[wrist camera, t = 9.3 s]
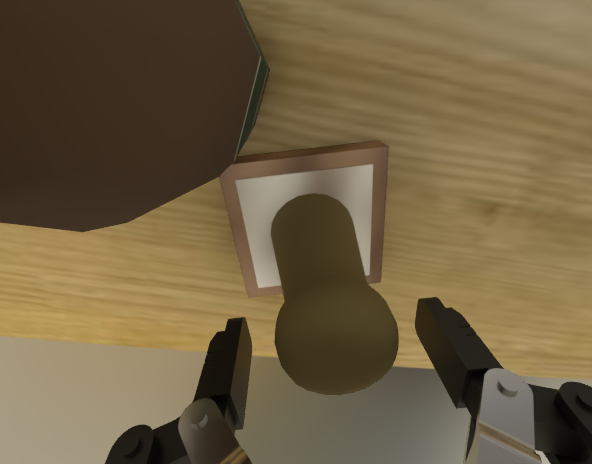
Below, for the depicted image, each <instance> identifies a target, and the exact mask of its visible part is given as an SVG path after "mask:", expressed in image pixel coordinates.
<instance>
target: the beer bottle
mask: <svg viewBox="0 0 592 464" xmlns="http://www.w3.org/2000/svg"><path fill="white" fill-rule="evenodd" d="M269 71H270V69H269V67H268V64H267V62H266V60H265V58H264V56H263V53H262V51H261V49H260V47H259V44H258V42H257V40H256V38H255V35H254V33H253V31H252V29H251V26H250V24H249V22H248V20H247V18H246V15H245V13H244V11H243V9H242V6H241V4H240V2H239V0H0V223H9V224H18V225H27V226H35V227H44V228H53V229H62V230H70V231H79V232H85V231H90V230H95V229H99V228H104V227H109V226H113V225H118V224H123V223H128V222H130V221H131V220H133V219H135V218H137V217H139V216H141V215H143V214H145V213H147V212H149V211H151V210H153V209H155V208H157V207H159V206H161V205H163V204H165V203H167V202H169V201H171V200H173V199H175V198H177V197H179V196H181V195H183V194H185V193H187V192H189V191H191V190H193V189H195V188H197V187H199V186H201V185H203V184H205V183H207V182H209V181H211V180H213V179H215V178H217V177H219V176H220V175H221V174H222V173H223V172H224V171H225V170H226V169H227V168H228V167H229V166H230V165H231V164H232V163H233V162H234V161H235V159H236V157H237V155H238V154H239V152H240V150H241V148H242V147H243V145H244V143H245V141H246V139H247V138H248V136H249V134H250V132H251V131H252V129H253V127H254V125H255V122H256V119H257V115H258V111H259V108H260V104H261V100H262V97H263V93H264V89H265V86H266V82H267V78H268V75H269Z"/></svg>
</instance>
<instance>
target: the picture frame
mask: <svg viewBox="0 0 592 464" xmlns="http://www.w3.org/2000/svg"><path fill="white" fill-rule="evenodd" d="M388 149H389V146H387V145H385V144H384V143H382V142H380V141H371V142H362V143H353V144H345V145H336V146H327V147H319V148H310V149H301V150H293V151H284V152H275V153H267V154H258V155H249V156H241V157H236V159H235V161H234V162H233V163H232V164H231V165H230V166H229V167H228V168H227V169H226V170H225V171H224V172H223V173H222V174H221V175H220V176H219V178H220V182H221V186H222V190H223V194H224V198H225V203H226V207H227V211H228V215H229V219H230V223H231V228H232V232H233V236H234V240H235V244H236V248H237V252H238V257H239V261H240V265H241V269H242V273H243V277H244V281H245V286H246V290H247V294H248V298H250V297H258V296H267V295H276V294H283V290H282V285H281V281H280V276H279V271H278V267H277V262H276V257H275V253H274V248H273V244H272V239H271V225H272V221H273V219H274V217H275V215H276V213H277V211H278V210H279V209H280V208H281V207H282V206H283V205H284V204H285V203H286V202H288V201H290V200H292V199H294V198H296V197H298V196H300V195H306V194H311V193H315V194H324V195H328V196H330V197H332V198H335V199H337V200H339V201H340V202H341V203H342V204H343V205H344V206H345V207H346V208H347V209H348V211H349V213H350V215H351V217H352V220H353V224H354V228H355V233H356V237H357V241H358V246H359V250H360V254H361V259H362V263H363V267H364V272H365V276H366V280H367V284H371V283H379V282H381V269H382V252H383V235H384V218H385V201H386V183H387V166H388Z"/></svg>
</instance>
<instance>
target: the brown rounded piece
mask: <svg viewBox="0 0 592 464" xmlns="http://www.w3.org/2000/svg"><path fill="white" fill-rule="evenodd" d="M271 239H272V244H273V248H274V253H275V257H276V262H277V267H278V271H279V276H280V281H281V285H282V290H283V294H284V299H285V302H284V304H283V306H282V307H281V309H280V312H279V314H278V317H277V322H276V329H275V346H276V350H277V353H278V357H279V360H280V363H281V366H282V368H283V369H284V370H285V372H286V373H287V374H288V375H289V377H290V378H291V379H292V380H293V381H294V382H295V383H296V384H297V385H299V386H301V387H303V388H304V389H306V390H308V391H312V392H316V393H320V394H326V395H342V394H348V393H354V392H356V391H359V390H362V389H365V388H367V387H369V386H370V385H372V384H373V383H375V382H377V381H378V380H380V379H381V378H382V377H383V376H384V375H385V374H386V373H387V372H388V371H389V370H390V369H391V367H392V365H393V363H394V361H395V359H396V355H397V351H398V328H397V323H396V321H395V319H394V317H393V315H392V313H391V311H390V309H389V307H388V305H387V303H386V301H385V300H384V299H383V298H382V297H381V295H380V294H379V293H378V292H376V291H375V290H374V289H373V288H372V287H370V286H369V285H368V284H367V280H366V276H365V272H364V267H363V263H362V259H361V254H360V250H359V246H358V241H357V237H356V233H355V228H354V224H353V220H352V217H351V215H350V213H349V211H348V209H347V208H346V207H345V206H344V205H343V204H342V203H341V202H340V201H339V200H337V199H335V198H332V197H330V196H328V195H324V194H315V193H311V194H306V195H300V196H298V197H296V198H294V199H292V200H290V201H288V202H286V203H285V204H284V205H283V206H282V207H281V208H280V209H279V210H278V211H277V213H276V215H275V217H274V219H273V221H272V225H271Z"/></svg>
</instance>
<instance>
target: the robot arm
mask: <svg viewBox="0 0 592 464" xmlns="http://www.w3.org/2000/svg"><path fill="white" fill-rule="evenodd" d="M415 328H416V332H417V335H418V337H419V339H420V341H421V343H422V345H423V347H424V349H425V350H426V352H427V354H428V356H429V358H430V360H431V362H432V364H433V366H434V367H435V369H436V371H437V373H438V375H439V377H440V378H441V381H442V382H443V384H444V386H445V388H446V390H447V392H448V394H449V396H450V397H451V399H452V401H453V403H454V405H455V407H456V408H465V407H467V409H468V411H469V413H470V414H471V416H470V420H469V426H468V433H467V439H466V446H465V453H464V460H463V464H542V461H541V457H540V456H539V455H538V454H536V452H535V450H538V451H542V452H543V453H544V454H545V455H546V457H547V458H548V460H549V462H550V463H551V464H592V387H590V386H588V385H585V384H582V383H578V382H566V383H564V384H562V386H561V387H560V389H559V390H556V389H551V388H546V387H540V386H535V385H531V384H528V383H526V382H525V381H524V380H523V379H522V378H521V377H519V376H518V375H516V374H515V373H513V372H511V371H508V370H505V369H504V368H503V367H502V366H501V365H500V364H499V362H498V361H497V360H496V358H495V357H494V356H493V354H492V353H491V352H490V351H489V349H488V348H487V347H486V345H485V344H484V343H483V341H482V340H481V339H480V338H479V336H477V335H476V332H475V331H474V330H473V328H472V327H470V325H469V323H468V322H467V321H466V319H465V318H464V317H463V316H462V315H461V314H460V313H458V312H457V311H456V310H454V309H453V308H445V307H444V305H443V304H442V302H441V301H440V300H439V299H438V298H437V297H432V298H423V299H419V300H418V304H417V312H416V319H415ZM251 357H252V341H251V337H250V333H249V329H248V326H247V322H246V319H245V317H241V318H232V319H228V321H227V325H226V329H225V331H221V332H217V333H216V335H215V336H214V337H213V339H212V340H211V341H210V344H209V348H208V351H207V356H206V358H205V364H204V366H203V369H202V373H201V376H200V380H199V384H198V387H197V390H196V394H195V397H194V400H193V402H192V404H190V405H189V406H188V407H187V408H186V409H185V410H184V412H183V413H182V415H181V416H180V417H179V418H177V419H176V420H174V421H172V422H169V423H167V424H165V425H163V426H160V427H158V428H156V429H154V430H152V429H151V428H150V427H149V426H147V425H137V426H134V427H132V428H130V429H128V430H127V431H126V432H124V433H123V434H122V435H121V436H120V437H119V438H118V439H117V441H116V442H115V443H114V445H113V446H112V448H111V450H110V453H109V455H108V457H107V460H106V462H105V464H252V463H251V461H250V459H249V458H248V456H247V454H246V453H245V451H244V450H243V449H242V448H241V446H240V445H239V443H238V441H237V440H236V438H235V436H234V434H235V430H239V429H243V425H244V416H245V407H246V399H247V391H248V382H249V374H250V373H249V372H250V365H251Z"/></svg>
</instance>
